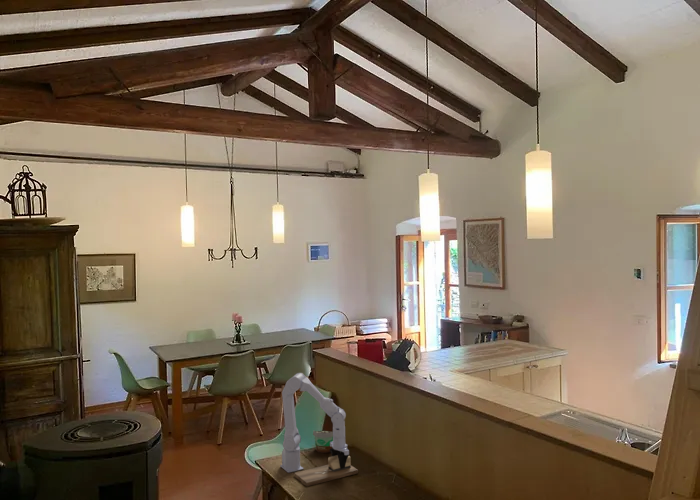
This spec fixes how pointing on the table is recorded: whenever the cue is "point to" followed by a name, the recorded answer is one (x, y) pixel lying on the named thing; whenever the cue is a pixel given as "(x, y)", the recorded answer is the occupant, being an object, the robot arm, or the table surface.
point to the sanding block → (337, 463)
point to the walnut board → (322, 474)
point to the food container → (323, 440)
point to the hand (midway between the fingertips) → (339, 466)
